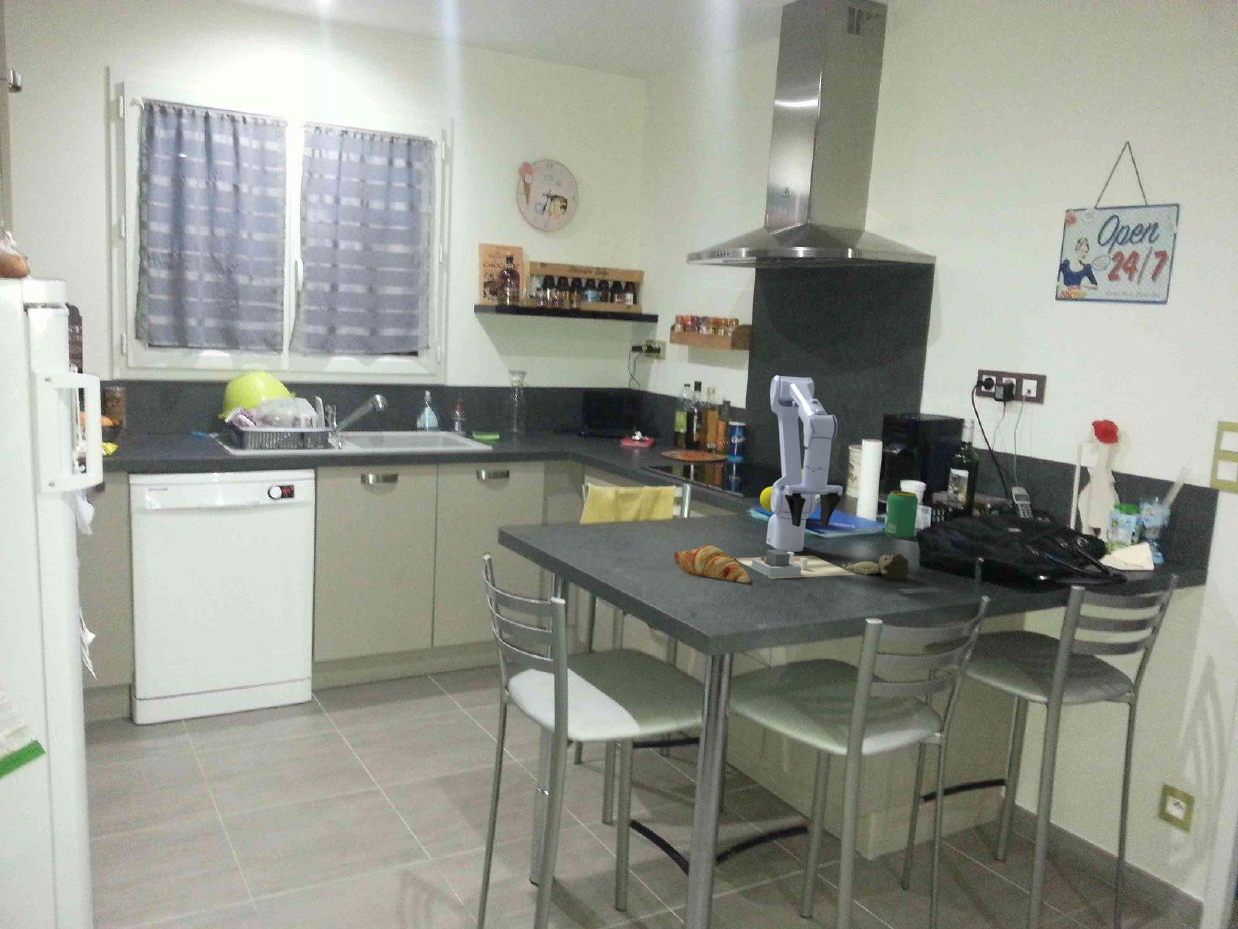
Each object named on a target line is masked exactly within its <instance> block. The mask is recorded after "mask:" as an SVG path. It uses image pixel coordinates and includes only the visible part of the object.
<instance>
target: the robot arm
mask: <svg viewBox="0 0 1238 929" xmlns="http://www.w3.org/2000/svg"><path fill="white" fill-rule="evenodd" d="M769 395H770V407H771V411H772V412H773V413H774V414H775V415H777V420H778V421H777V422H778V432H779V433H778V434H779V449H780V464H781V477H780V478H779V479H777V480H776V481H775V482H773V485H772V489H771V510H772V511H773V512H772V513H773V514H772V515H771V516H770V518H769V520H768V524H767V531H766V532H767V533H766V544H767V545H770V546H771V547H773V549H775V550H782V551H784V552H793V553H794V552H795V553H797V552H798V553H799V552H801V551H803V550H804V544H805V542H804V541H805V533H806V523H807V519H809V518H810V517H811V516H812V515H813V514H814V513H815V510H816V495H817V496H818V495H819V498H820V515H819V524H820V525H822V526H825V527H828V525H829V522H830V520H831V518H832V515H833V512H834V511H835V509H836V508H837V506H838V505H839V503H840V502H841V498H842V497H841V496H842V495H843V490H844V487H843V486H840V485H836V484H835V485H833V484H829V485H828V479H829V469H830V459H831V450H832V442H833V441H834V440H835V439H836V437H837V432H838V421H837V418H836V416H835V414H828V413H827V412H826V410H825V408H824V407H823V405H822V403H821V402H820V401H819V399H817V398H814V395H815V383H814V380H813V379H812V377H797V376H785V375H784V376H781V375H777V374H776V375H775V376H774V377H773V378H772V379H771V383H770V389H769ZM799 418H800V420H801V422H802V423H803V446H804V459H803V466H802V462H801V461H802V460H801V458H802V457H801V447H800V446H801V445H800V431H799V430H800V429H799V420H798V419H799ZM801 469H803V475H802V472H801ZM814 509H815V510H814ZM813 512H814V513H813ZM812 513H813V514H812ZM811 514H812V515H811ZM810 515H811V516H810ZM809 516H810V517H809Z"/></svg>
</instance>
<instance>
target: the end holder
mask: <svg viewBox="0 0 1238 929" xmlns="http://www.w3.org/2000/svg"><path fill="white" fill-rule="evenodd" d="M752 568H753V569H752ZM752 568H751V569H752V570H754V569H755V570H754V571H756V570H757V573H760V574H762V575H764V576H766V577H768V578H770V577H783V576H801V566H799V565H796V564H794V563H792V562H790V561H789V566H779V567H771V566H769V565H767V564H765V563H763V562H761V561H759V560H757V559H753V560H752Z"/></svg>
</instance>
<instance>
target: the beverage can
mask: <svg viewBox="0 0 1238 929" xmlns="http://www.w3.org/2000/svg"><path fill="white" fill-rule="evenodd" d="M918 504H919V499H918V496H917V493H914V492H912V491H904V490H891V491H890V493H889V494H888V496H887V501H886V510H885V517H884V518H885V519H884V527H885V531H884V530H883V531H884V535H885V534H886V535H887V537H890V538H892V537H897V538H896V539H898V538H905V539H904V540H910V539H909V538H911V537H912V538H913V536H914V535H915V530H916V528H915V527H916V522H917V521H916V520H917V512H918ZM886 535H885V536H886ZM906 538H907V539H906ZM912 538H911V539H912Z"/></svg>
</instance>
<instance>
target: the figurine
mask: <svg viewBox="0 0 1238 929" xmlns="http://www.w3.org/2000/svg"><path fill="white" fill-rule="evenodd" d="M842 569H845V570H851V571H854V572H855V573H858V574H862V575H865V576H867V575H870V574H873V575H876V574H880V573H881V576H882V577H883V578H884V579H886V580H891V581H899V582H900V581H905V580H906V578H907V577H908V575H909V574H910V570H909V560H908V558H906V557H904V555H903V554H901V553H896V554H892V555H887V554H886V553H885V554H883V555H882V556H880V557H879V559H878V563H875V562H873V561H869V560H868V561H861V562H858V563H853V564H852V562H849V563H848V564H842Z"/></svg>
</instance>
